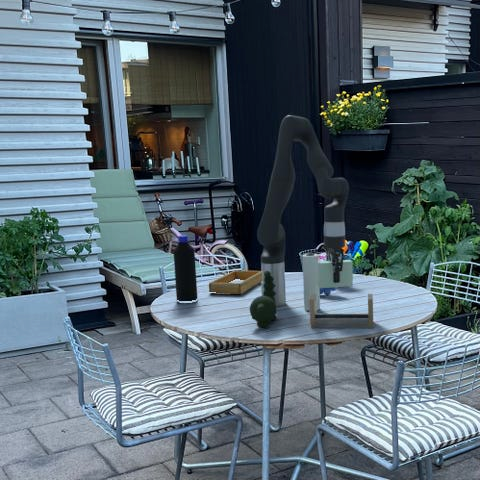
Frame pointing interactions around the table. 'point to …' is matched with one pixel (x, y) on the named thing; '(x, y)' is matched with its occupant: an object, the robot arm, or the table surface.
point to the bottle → (185, 270)
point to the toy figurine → (265, 304)
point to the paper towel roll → (310, 280)
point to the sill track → (341, 317)
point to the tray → (236, 288)
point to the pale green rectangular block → (327, 274)
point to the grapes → (327, 290)
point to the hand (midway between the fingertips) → (334, 281)
